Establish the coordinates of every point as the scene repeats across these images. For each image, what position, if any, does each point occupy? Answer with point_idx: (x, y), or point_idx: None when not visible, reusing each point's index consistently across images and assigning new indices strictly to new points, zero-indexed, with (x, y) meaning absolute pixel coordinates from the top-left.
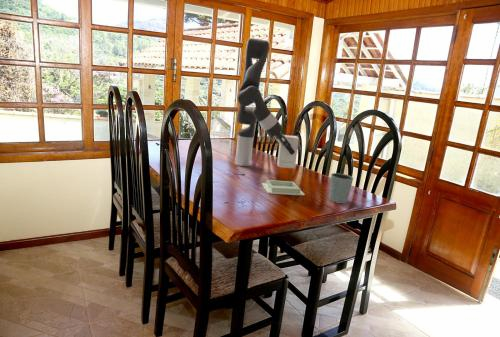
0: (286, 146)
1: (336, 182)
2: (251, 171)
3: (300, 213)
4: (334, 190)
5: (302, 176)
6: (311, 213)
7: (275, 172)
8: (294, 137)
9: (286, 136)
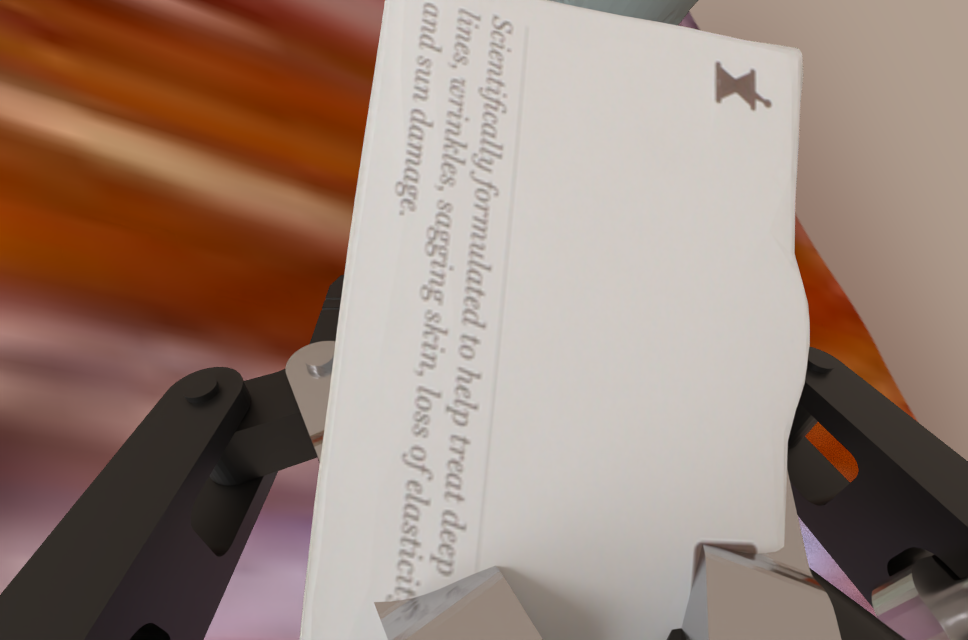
0: (819, 452)
1: (689, 9)
2: (17, 523)
3: (819, 342)
4: None
5: (95, 108)
6: (805, 284)
7: (9, 308)
8: (764, 175)
9: (696, 471)
